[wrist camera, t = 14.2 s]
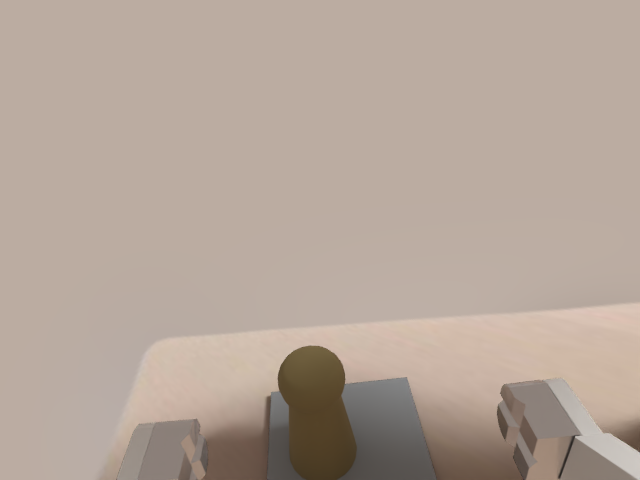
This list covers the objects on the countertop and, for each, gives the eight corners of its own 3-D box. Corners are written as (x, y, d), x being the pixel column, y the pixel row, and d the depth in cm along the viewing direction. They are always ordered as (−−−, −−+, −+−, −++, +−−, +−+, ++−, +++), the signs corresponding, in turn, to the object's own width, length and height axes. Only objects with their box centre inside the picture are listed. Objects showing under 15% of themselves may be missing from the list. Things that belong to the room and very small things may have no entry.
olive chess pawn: (363, 426, 39) (357, 340, 33) (346, 492, 34) (336, 404, 28) (302, 412, 41) (287, 328, 35) (278, 472, 36) (255, 386, 30)
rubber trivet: (406, 381, 44) (406, 377, 43) (450, 530, 32) (450, 526, 31) (272, 396, 44) (271, 392, 43) (264, 551, 32) (263, 547, 31)
